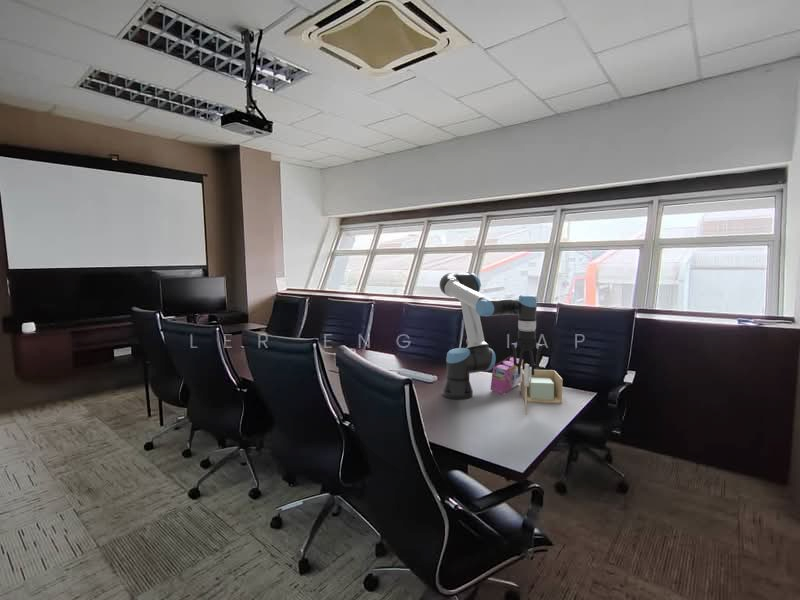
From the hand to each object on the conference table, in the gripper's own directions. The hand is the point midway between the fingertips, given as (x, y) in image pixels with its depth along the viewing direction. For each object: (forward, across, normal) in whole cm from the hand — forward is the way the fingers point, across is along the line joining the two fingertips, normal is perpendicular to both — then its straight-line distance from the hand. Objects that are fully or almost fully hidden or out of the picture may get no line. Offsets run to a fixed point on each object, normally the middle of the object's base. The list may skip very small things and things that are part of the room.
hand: (525, 381), depth 177 cm
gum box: (+13, -10, +34) cm, 38 cm away
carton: (+14, +7, +24) cm, 28 cm away
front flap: (+14, 0, +5) cm, 15 cm away
